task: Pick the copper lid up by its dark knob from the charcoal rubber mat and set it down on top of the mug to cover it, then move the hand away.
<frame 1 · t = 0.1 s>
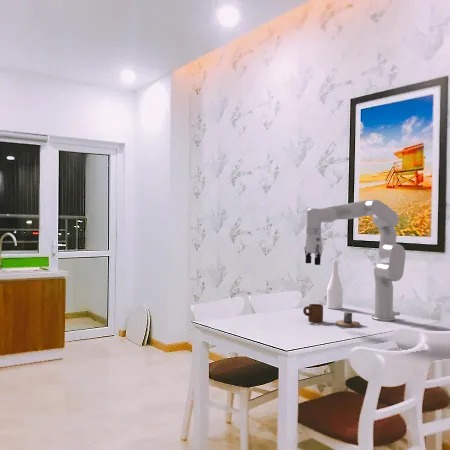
hand: (312, 264, 263), 31 cm above the table, tool pointing down, fingers open, 9 cm apart
wine bottle: (334, 308, 311), on the table
rubber mat: (347, 326, 256), on the table
copper lid: (347, 325, 256), point 1 cm above the table, touching rubber mat
mug: (312, 323, 263), on the table
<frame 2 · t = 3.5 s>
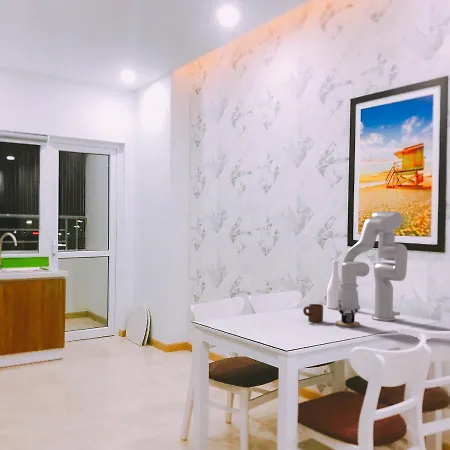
hand: (347, 322, 256), 2 cm above the table, tool pointing down, fingers closed on copper lid, 4 cm apart
copper lid: (347, 324, 256), point 1 cm above the table, touching gripper, rubber mat
everything else where it was.
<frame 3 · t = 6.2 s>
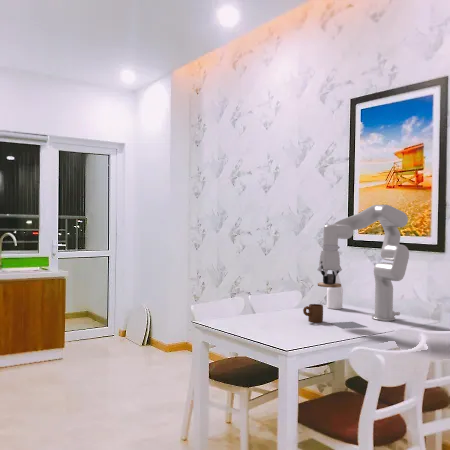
hand: (329, 283, 259), 22 cm above the table, tool pointing down, fingers closed on copper lid, 4 cm apart
copper lid: (329, 286, 259), point 20 cm above the table, touching gripper
everything else where it was.
when the fingers open (12 cm above the table, at t = 8.8 s): copper lid drops 1 cm, resting on mug.
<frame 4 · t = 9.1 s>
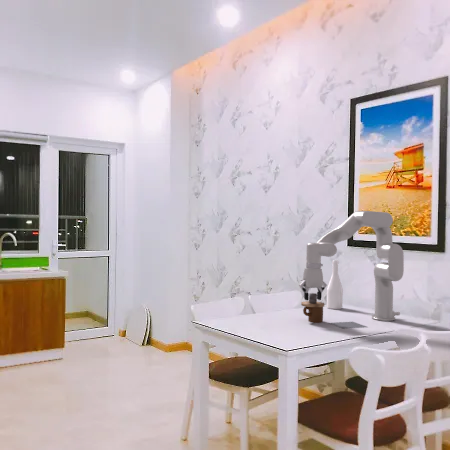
hand: (312, 299, 263), 12 cm above the table, tool pointing down, fingers open, 6 cm apart
copper lid: (312, 305, 263), point 9 cm above the table, touching mug
mug: (312, 323, 263), on the table, touching copper lid
everything else where it was.
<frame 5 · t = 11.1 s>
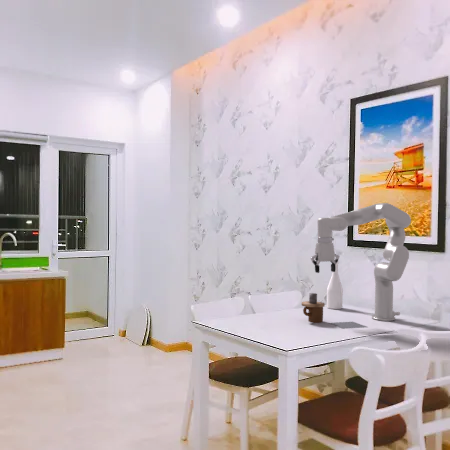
hand: (325, 272, 269), 26 cm above the table, tool pointing down, fingers open, 9 cm apart
nothing on the table moved.
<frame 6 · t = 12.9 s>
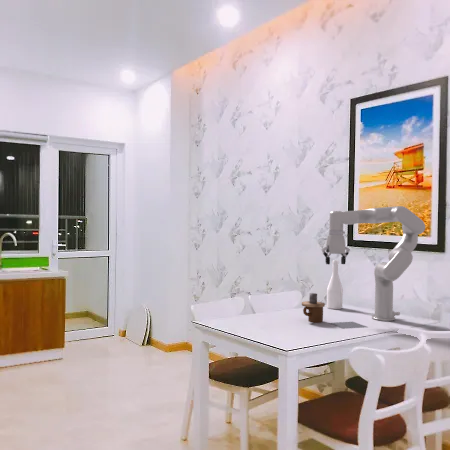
hand: (335, 264, 276), 30 cm above the table, tool pointing down, fingers open, 9 cm apart
nothing on the table moved.
at the end: copper lid 0.3 cm from the mug (horizontally); copper lid point 9.4 cm above the table; copper lid tilted 0° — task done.
